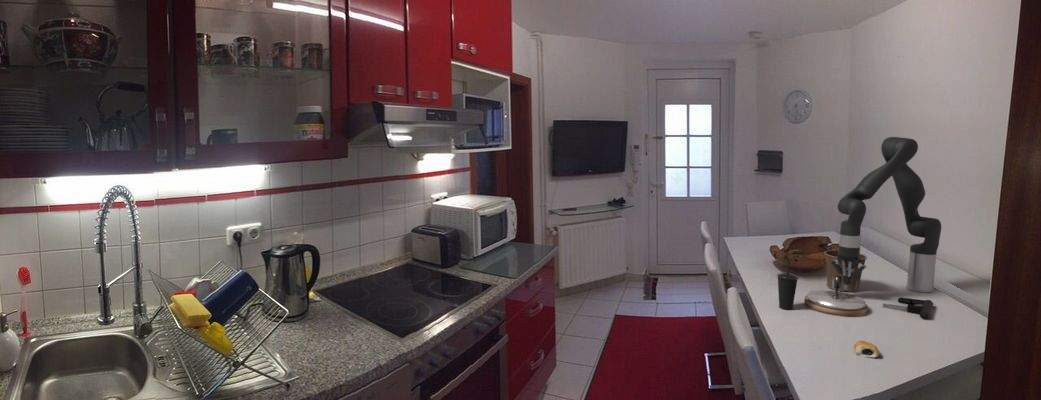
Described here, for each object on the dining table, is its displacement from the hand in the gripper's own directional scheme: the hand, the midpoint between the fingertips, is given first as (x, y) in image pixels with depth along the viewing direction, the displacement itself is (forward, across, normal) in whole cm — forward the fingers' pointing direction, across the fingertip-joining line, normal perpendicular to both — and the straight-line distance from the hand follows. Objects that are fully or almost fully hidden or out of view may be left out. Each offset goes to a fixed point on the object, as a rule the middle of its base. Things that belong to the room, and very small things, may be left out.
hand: (847, 284), depth 208 cm
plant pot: (+7, -7, +14) cm, 17 cm away
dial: (+4, 0, -12) cm, 12 cm away
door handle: (+7, +20, +5) cm, 22 cm away
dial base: (+6, +1, -15) cm, 16 cm away
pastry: (+7, +24, -53) cm, 59 cm away
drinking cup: (+6, -11, -31) cm, 34 cm away
